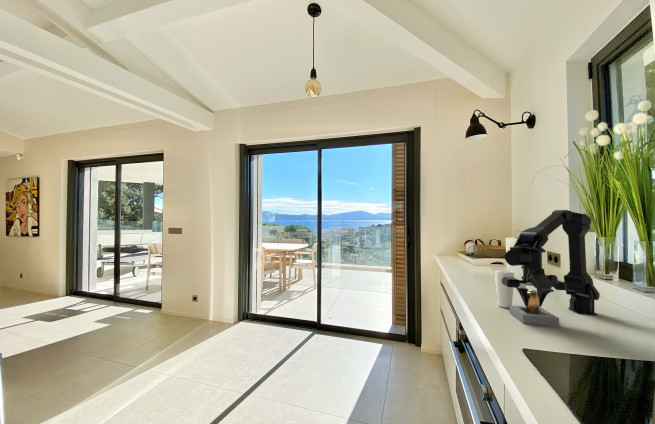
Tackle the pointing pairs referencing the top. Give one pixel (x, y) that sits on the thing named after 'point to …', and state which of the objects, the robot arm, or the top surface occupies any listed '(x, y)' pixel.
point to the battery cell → (533, 302)
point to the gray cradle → (534, 316)
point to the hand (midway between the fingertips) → (532, 306)
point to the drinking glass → (503, 288)
